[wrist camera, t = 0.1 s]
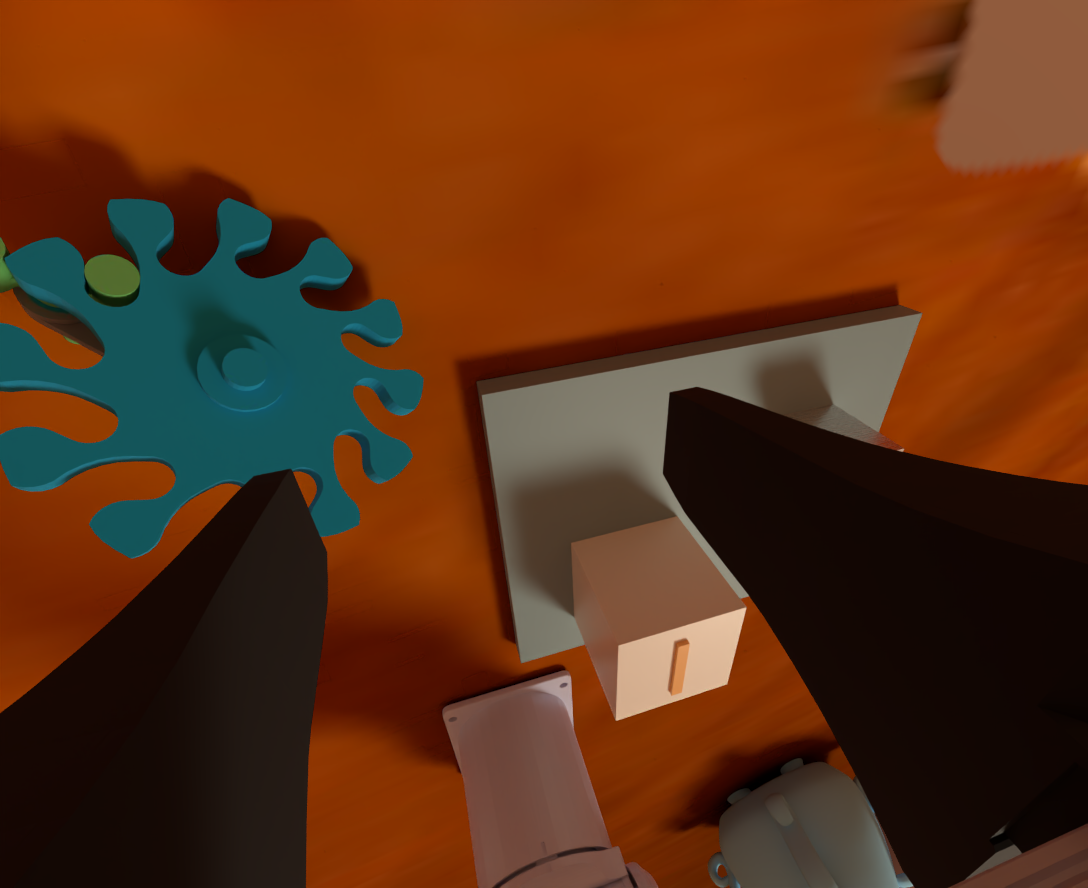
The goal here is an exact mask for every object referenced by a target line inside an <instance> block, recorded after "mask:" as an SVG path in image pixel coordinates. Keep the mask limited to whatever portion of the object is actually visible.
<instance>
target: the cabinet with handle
mask: <svg viewBox="0 0 1088 888" xmlns="http://www.w3.org/2000/svg"><path fill="white" fill-rule="evenodd" d="M571 553H572V576H573V600H574V618H575V620H576V623H577V625H578V628H579V630H580V633H581V635H582V638H583V640H584V643H585V645H586V648H587V650H588V653H589V655H590V658H591V660H592V663H593V665H594V668H595V670H596V673H597V675H598V678H599V680H600V683H601V685H602V688H603V690H604V693H605V695H606V698H607V700H608V703H609V705H610V708H611V710H612V713H613V715H614V718H615V720H616V721H617V720H620V719H623V718H626V717H629V716H632V715H635V714H638V713H641V712H644V711H647V710H650V709H653V708H656V707H659V706H662V705H665V704H668V703H672V702H675V701H678V700H681V699H684V698H687V697H690V696H693V695H696V694H699V693H702V692H705V691H708V690H711V689H714V688H717V687H720V686H723V685H726V684H727V682H728V678H729V674H730V670H731V666H732V662H733V658H734V654H735V651H736V647H737V643H738V639H739V635H740V631H741V627H742V623H743V619H744V615H745V611H746V606H745V605H744V603H743V602H742V601H741V599H740V598H739V597H738V595H737V594H736V593H735V592H734V590H733V589H732V588H731V586H730V585H729V584H728V582H727V581H726V580H725V578H724V577H723V576H722V574H721V573H720V572H719V570H718V569H717V568H716V566H715V565H714V564H713V562H712V561H711V560H710V558H709V557H708V556H707V555H706V553H705V552H704V551H703V549H702V548H701V547H700V545H699V544H698V543H697V541H696V540H695V539H694V537H693V536H692V535H691V533H690V532H689V531H688V529H687V528H686V527H685V525H684V524H683V523H682V522H681V520H680V519H679V518H678V516H676V517H672V518H668V519H664V520H660V521H656V522H652V523H648V524H644V525H640V526H636V527H632V528H628V529H624V530H620V531H616V532H612V533H608V534H605V535H601V536H597V537H593V538H589V539H585V540H581V541H577V542H573V543H571Z"/></svg>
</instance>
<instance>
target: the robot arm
mask: <svg viewBox="0 0 1088 888" xmlns="http://www.w3.org/2000/svg"><path fill="white" fill-rule="evenodd" d="M663 475H664V477H665V479H666V481H667V483H668V485H669V486H670V488H671V490H672V492H673V494H674V496H675V497H676V499H677V501H678V502H679V504H680V506H681V507H682V509H683V511H684V512H685V514H686V515H687V516H688V518H689V519H690V520H691V522H692V523H693V524H694V526H695V527H696V528H697V530H698V531H699V532H700V534H701V535H702V536H703V537H704V539H705V540H706V541H707V543H708V544H709V545H710V547H711V548H712V549H713V550H714V552H715V553H716V554H717V555H718V557H719V558H720V559H721V561H722V562H723V563H724V564H725V566H726V567H727V568H728V570H729V571H730V572H731V573H732V575H733V576H734V577H735V578H736V580H737V581H738V582H739V584H740V585H741V586H742V587H743V589H744V590H745V591H746V593H747V594H748V595H749V596H750V598H751V599H752V601H753V602H754V603H755V605H756V606H757V608H758V609H759V610H760V612H761V613H762V615H763V616H764V618H765V619H766V621H767V622H768V624H769V626H770V627H771V629H772V630H773V632H774V634H775V635H776V637H777V638H778V640H779V641H780V643H781V645H782V646H783V648H784V649H785V651H786V653H787V654H788V656H789V657H790V659H791V661H792V662H793V664H794V666H795V667H796V669H797V671H798V673H799V674H800V676H801V678H802V679H803V681H804V683H805V684H806V686H807V688H808V690H809V691H810V693H811V695H812V696H813V698H814V700H815V702H816V703H817V705H818V707H819V708H820V710H821V712H822V714H823V716H824V717H825V719H826V721H827V723H828V725H829V727H830V728H831V730H832V732H833V734H834V736H835V738H836V739H837V741H838V743H839V745H840V747H841V749H842V750H843V752H844V754H845V756H846V758H847V760H848V761H849V763H850V765H851V767H852V769H853V771H854V773H855V775H856V777H857V779H858V781H859V782H860V784H861V786H862V788H863V790H864V792H865V794H866V796H867V798H868V800H869V802H870V804H871V806H872V808H873V810H874V812H875V814H876V816H877V818H878V820H879V822H880V824H881V826H882V828H883V830H884V832H885V834H886V836H887V838H888V840H889V842H890V845H891V846H892V849H893V851H894V853H895V855H896V857H897V859H898V862H899V864H900V866H901V868H902V870H903V872H904V873H905V875H906V876H907V877H908V879H909V880H910V882H911V883H912V885H913V886H914V887H915V888H1088V485H1082V484H1074V483H1066V482H1058V481H1051V480H1045V479H1038V478H1031V477H1025V476H1018V475H1012V474H1007V473H1001V472H996V471H990V470H985V469H979V468H974V467H968V466H963V465H958V464H953V463H949V462H944V461H939V460H934V459H930V458H926V457H922V456H918V455H914V454H910V453H906V452H901V451H897V450H893V449H889V448H885V447H882V446H878V445H874V444H871V443H867V442H864V441H860V440H857V439H854V438H851V437H847V436H844V435H841V434H838V433H834V432H831V431H828V430H825V429H822V428H819V427H816V426H813V425H810V424H807V423H804V422H801V421H798V420H795V419H792V418H790V417H787V416H784V415H781V414H778V413H775V412H773V411H770V410H767V409H764V408H762V407H759V406H756V405H753V404H750V403H748V402H745V401H742V400H739V399H736V398H733V397H731V396H728V395H725V394H722V393H718V392H715V391H712V390H708V389H704V388H700V387H693V388H688V389H683V390H678V391H673V392H670V393H669V404H668V416H667V428H666V439H665V451H664V463H663ZM327 602H328V574H327V551H326V549H325V546H324V544H323V542H322V539H321V537H320V535H319V532H318V530H317V528H316V525H315V523H314V521H313V518H312V516H311V514H310V511H309V509H308V507H307V504H306V502H305V500H304V497H303V495H302V493H301V490H300V488H299V486H298V483H297V481H296V479H295V476H294V474H293V472H292V469H286V470H281V471H276V472H271V473H266V474H261V475H256V476H253V477H252V478H251V479H250V480H249V481H248V482H247V483H246V484H245V485H244V486H243V487H242V488H241V489H240V490H239V491H238V492H237V493H236V494H235V495H234V496H233V497H232V498H231V499H230V500H229V501H228V502H227V504H226V505H225V506H224V507H223V508H222V509H221V510H220V511H219V512H218V513H217V514H216V515H215V517H214V518H213V519H212V520H211V521H210V522H209V523H208V524H207V525H206V526H205V527H204V528H203V529H202V530H201V531H200V533H199V534H198V535H197V536H196V537H195V538H194V539H193V540H192V541H191V542H190V543H189V544H188V545H187V546H186V547H185V548H184V549H183V550H182V552H181V553H180V554H179V555H178V556H177V557H176V558H175V559H174V560H173V561H172V562H171V563H170V564H169V565H168V566H167V567H166V568H165V569H164V570H163V571H162V572H161V573H160V574H159V575H158V576H157V577H156V578H155V579H154V580H153V581H151V582H150V583H149V584H148V585H147V586H146V587H145V588H144V589H143V590H142V591H141V592H140V593H139V594H138V595H137V596H136V597H135V598H134V599H133V600H132V601H131V602H130V603H129V604H128V605H127V606H126V607H125V608H124V609H123V610H122V611H121V612H120V613H119V614H118V615H117V616H115V617H114V618H113V619H112V620H111V621H110V622H109V623H108V624H107V625H106V626H105V627H103V628H102V629H101V630H100V631H99V632H98V633H97V634H96V635H94V636H93V637H92V638H91V639H90V640H89V641H88V642H87V643H85V644H84V645H83V646H82V647H81V648H80V649H79V650H77V651H76V652H75V653H74V654H73V655H71V656H70V657H69V658H68V659H67V660H65V661H64V662H63V663H62V664H61V665H60V666H58V667H57V668H56V669H55V670H54V671H52V672H51V673H50V674H49V675H48V676H46V677H45V678H44V679H43V680H42V681H40V682H39V683H38V684H37V685H36V686H34V687H33V688H32V689H31V690H29V691H28V692H27V693H26V694H24V695H23V696H22V697H21V698H20V699H18V700H17V701H16V702H14V703H13V704H12V705H10V706H9V707H8V708H6V709H5V710H4V711H3V712H1V713H0V888H306V820H307V787H308V756H309V744H310V733H311V724H312V716H313V709H314V702H315V694H316V687H317V679H318V672H319V665H320V657H321V650H322V643H323V635H324V627H325V619H326V611H327ZM442 714H443V719H444V722H445V725H446V728H447V731H448V734H449V737H450V740H451V743H452V746H453V749H454V752H455V755H456V758H457V761H458V764H459V767H460V770H461V773H462V776H463V780H464V787H465V794H466V802H467V809H468V816H469V824H470V831H471V838H472V846H473V853H474V860H475V868H476V875H477V882H478V888H658V886H657V884H656V882H655V880H654V879H653V877H652V876H651V875H650V873H648V872H647V871H646V870H644V869H643V868H641V867H640V866H639V865H638V864H637V863H636V862H630V863H628V864H625V863H624V860H623V857H622V854H621V851H620V849H619V847H618V846H616V847H613V848H612V846H611V843H610V840H609V837H608V834H607V831H606V827H605V824H604V821H603V818H602V815H601V812H600V809H599V806H598V803H597V800H596V797H595V794H594V791H593V788H592V785H591V781H590V778H589V775H588V772H587V769H586V766H585V763H584V760H583V757H582V754H581V751H580V748H579V745H578V742H577V739H576V735H575V732H574V726H573V708H572V690H571V677H570V674H569V672H568V671H565V670H563V671H559V672H556V673H553V674H549V675H546V676H543V677H539V678H536V679H533V680H529V681H526V682H523V683H520V684H516V685H513V686H510V687H506V688H503V689H500V690H496V691H493V692H490V693H487V694H483V695H480V696H477V697H473V698H470V699H467V700H463V701H460V702H457V703H453V704H450V705H448V706H446V707H444V709H443V710H442Z"/></svg>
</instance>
